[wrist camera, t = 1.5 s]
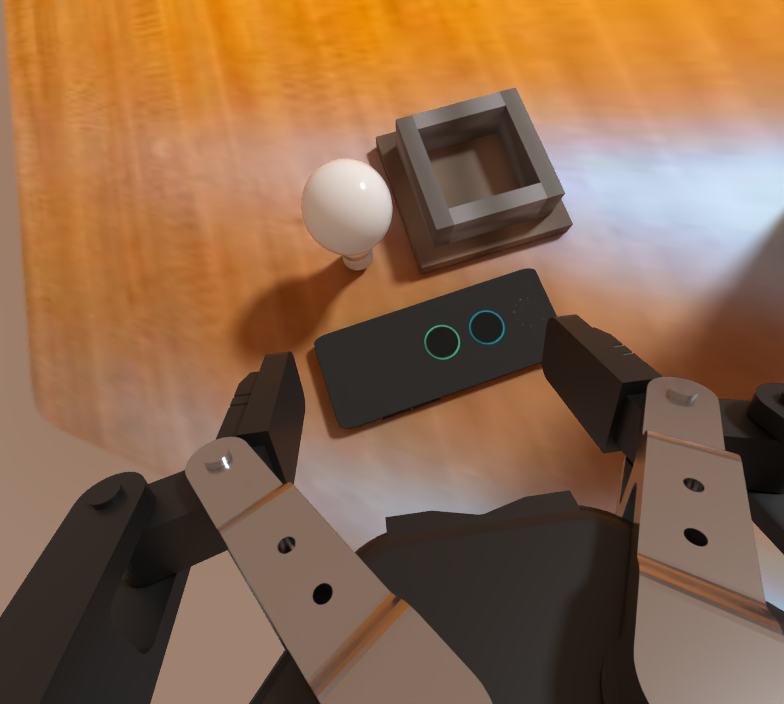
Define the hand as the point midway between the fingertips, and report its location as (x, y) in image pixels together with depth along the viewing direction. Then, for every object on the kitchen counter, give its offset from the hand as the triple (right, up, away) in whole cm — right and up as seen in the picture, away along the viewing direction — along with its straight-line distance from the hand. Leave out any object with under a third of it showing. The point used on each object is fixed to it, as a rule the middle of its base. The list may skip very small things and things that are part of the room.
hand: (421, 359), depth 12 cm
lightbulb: (-4, +9, +23) cm, 24 cm away
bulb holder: (+6, +16, +24) cm, 29 cm away
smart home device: (+3, 0, +21) cm, 21 cm away
